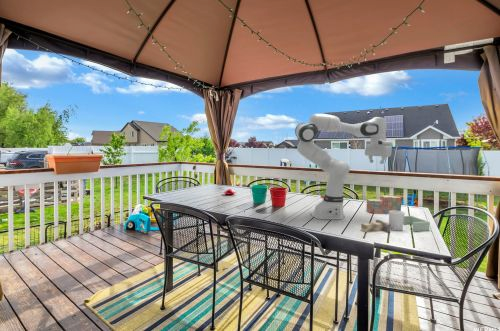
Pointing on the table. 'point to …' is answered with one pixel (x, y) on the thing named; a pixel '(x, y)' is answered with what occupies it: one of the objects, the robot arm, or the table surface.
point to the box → (417, 223)
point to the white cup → (396, 219)
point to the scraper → (375, 226)
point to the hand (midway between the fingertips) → (376, 163)
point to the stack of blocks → (384, 204)
